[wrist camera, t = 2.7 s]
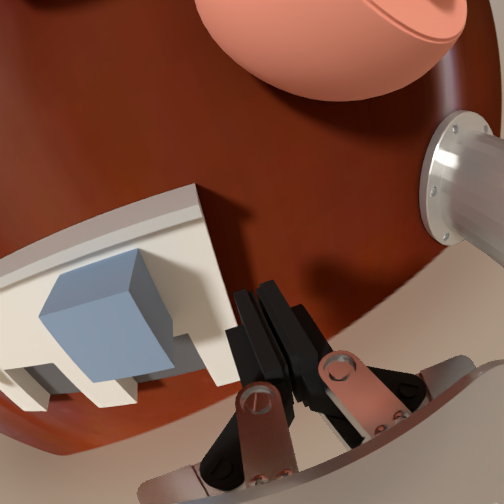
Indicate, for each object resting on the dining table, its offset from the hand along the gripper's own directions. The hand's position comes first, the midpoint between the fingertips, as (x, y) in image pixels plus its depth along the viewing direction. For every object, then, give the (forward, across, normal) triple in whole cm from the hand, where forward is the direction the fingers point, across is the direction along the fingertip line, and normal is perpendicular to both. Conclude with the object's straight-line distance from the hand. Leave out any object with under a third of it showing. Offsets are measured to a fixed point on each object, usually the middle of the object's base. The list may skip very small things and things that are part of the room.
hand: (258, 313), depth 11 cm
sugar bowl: (+6, -7, -14) cm, 17 cm away
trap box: (+7, +13, +3) cm, 15 cm away
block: (+4, +7, 0) cm, 8 cm away
